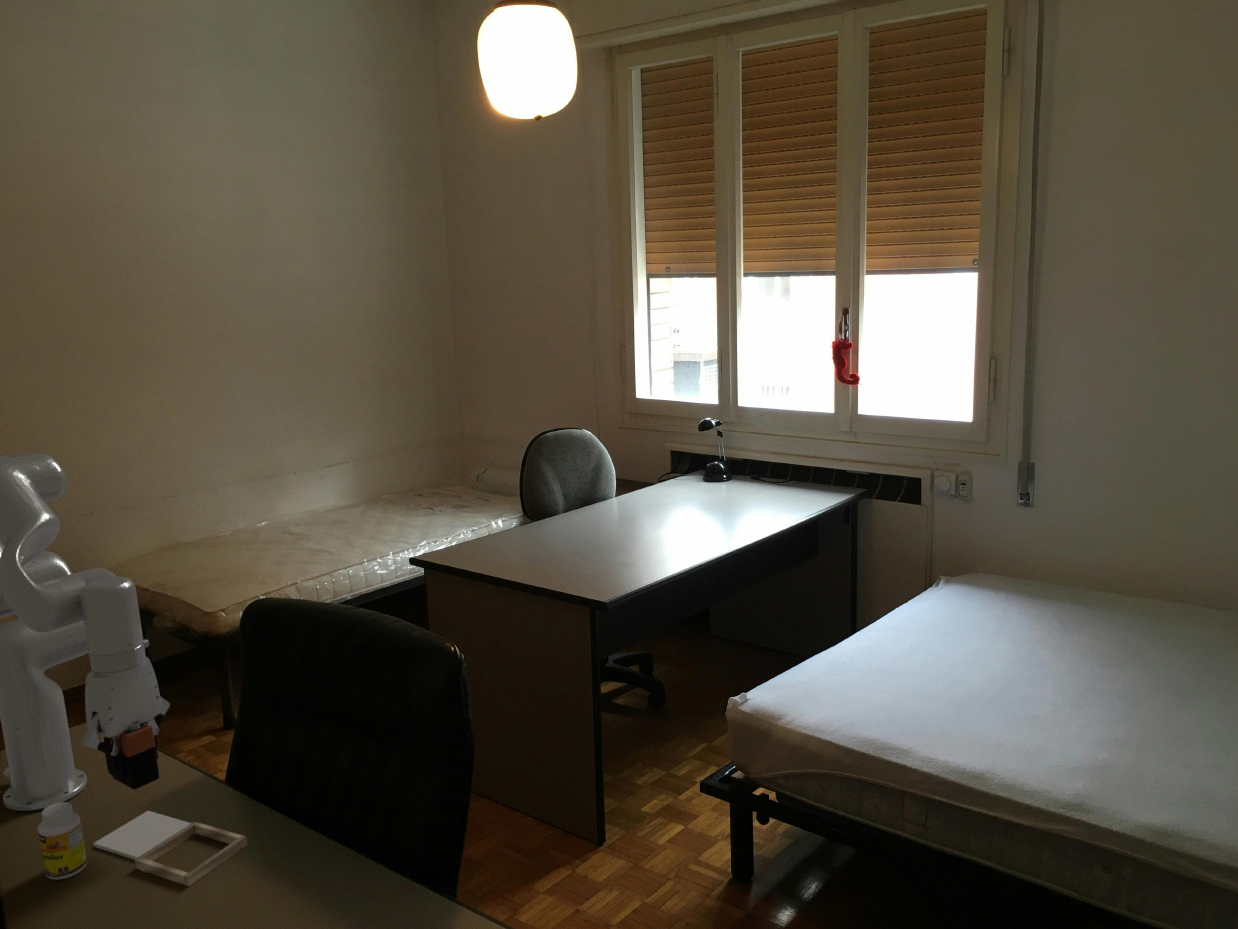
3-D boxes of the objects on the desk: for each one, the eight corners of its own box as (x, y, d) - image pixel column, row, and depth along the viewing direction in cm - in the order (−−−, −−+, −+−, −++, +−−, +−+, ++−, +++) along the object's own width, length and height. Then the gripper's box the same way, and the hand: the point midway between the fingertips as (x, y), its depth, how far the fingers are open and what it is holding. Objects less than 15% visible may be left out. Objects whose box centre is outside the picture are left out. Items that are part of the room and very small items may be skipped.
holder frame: (136, 869, 145) (134, 860, 145) (195, 830, 155) (194, 821, 155) (189, 886, 141) (187, 877, 140) (247, 845, 151) (246, 836, 150)
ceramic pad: (94, 846, 152) (93, 843, 152) (148, 813, 160) (148, 810, 160) (138, 861, 147) (137, 857, 147) (191, 826, 156) (191, 823, 156)
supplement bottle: (36, 878, 144) (26, 816, 142) (67, 857, 149) (57, 796, 147) (65, 884, 142) (55, 821, 140) (96, 862, 147) (86, 801, 145)
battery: (133, 791, 148) (124, 731, 146) (111, 779, 152) (102, 720, 150) (161, 779, 152) (152, 720, 150) (138, 767, 156) (130, 710, 154)
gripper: (148, 635, 157) (163, 739, 161) (49, 676, 142) (68, 789, 146) (181, 641, 154) (195, 746, 157) (83, 683, 139) (101, 798, 142)
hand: (134, 765), depth 151 cm, fingers closed on battery, 5 cm apart
